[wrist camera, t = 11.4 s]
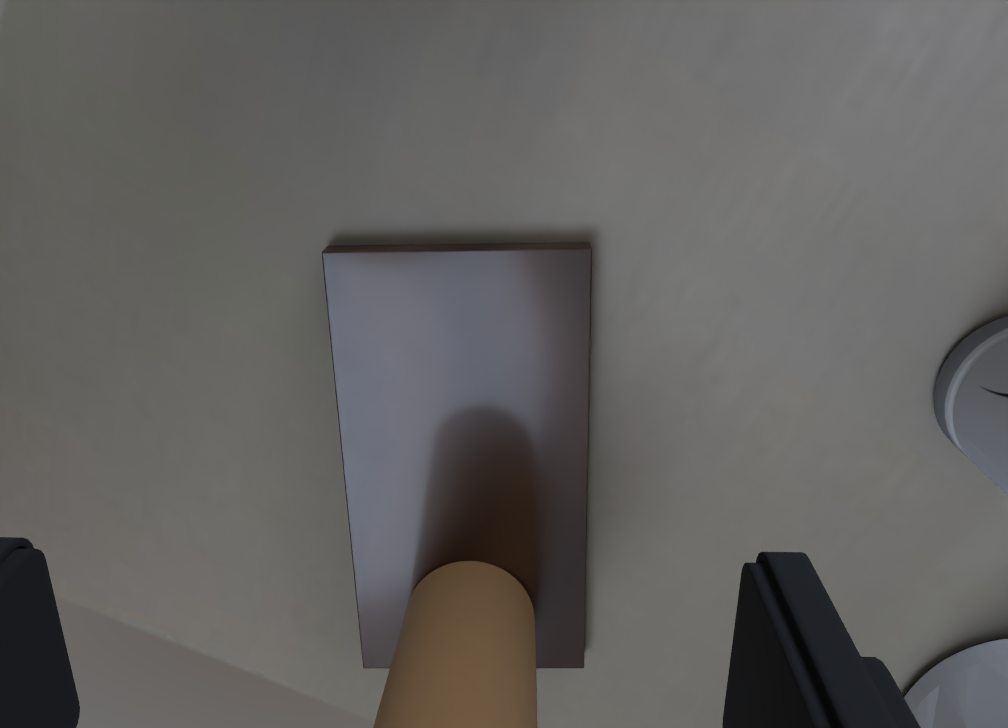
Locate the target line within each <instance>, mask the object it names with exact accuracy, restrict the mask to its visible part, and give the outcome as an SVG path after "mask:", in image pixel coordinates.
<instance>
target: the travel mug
mask: <svg viewBox="0 0 1008 728" xmlns="http://www.w3.org/2000/svg"><path fill="white" fill-rule="evenodd" d="M934 410H935V414H936V418H937V421H938V423H939V425H940V427H941V429H942V431H943V433H944V434H945V435H946V436H947V437H948V438H949V439H950V441H951V442H952V443H953V444H954V445H955V446H957V447H958V448H959V449H960V450H961V451H962V452H963V453H964V454H965V455H966V456H967V457H969V458H970V459H971V461H972V462H973V463H974V464H975V465H976V466H978V467H979V468H980V469H981V470H982V471H983V472H984V473H985V474H986V475H987V476H988V477H989V478H990V479H991V480H992V481H993V482H994V483H995V484H996V485H997V486H999V487H1000V488H1001V489H1002V490H1003V491H1004V492H1005V493H1006V494H1007V495H1008V316H1006V317H1003V318H1000V319H997V320H994V321H992V322H990V323H988V324H986V325H984V326H982V327H981V328H979V329H977V330H975V331H974V332H973V333H972V334H970V335H969V336H968V337H966V338H965V339H964V340H963V341H962V342H961V343H960V344H959V345H958V346H957V347H956V348H955V349H954V350H953V351H952V352H951V354H950V355H949V357H948V358H947V360H946V361H945V363H944V364H943V366H942V369H941V371H940V373H939V376H938V378H937V381H936V386H935V391H934Z"/></svg>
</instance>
